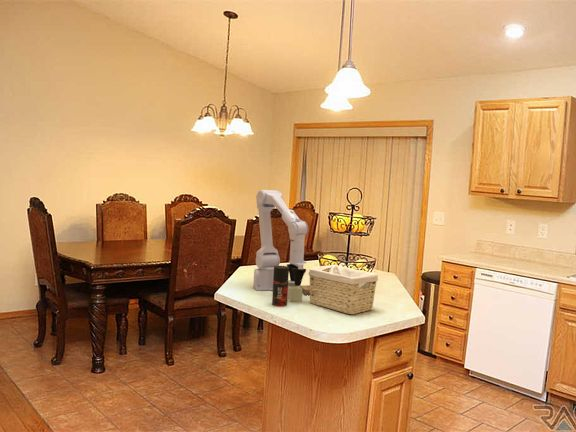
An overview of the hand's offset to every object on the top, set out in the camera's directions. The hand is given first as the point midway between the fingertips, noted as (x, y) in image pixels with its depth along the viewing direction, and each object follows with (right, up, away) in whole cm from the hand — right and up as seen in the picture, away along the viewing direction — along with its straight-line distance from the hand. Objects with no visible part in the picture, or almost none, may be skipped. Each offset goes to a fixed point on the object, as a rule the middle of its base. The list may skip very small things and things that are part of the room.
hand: (295, 283), depth 201 cm
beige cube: (0, -7, +1) cm, 7 cm away
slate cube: (-1, -6, +12) cm, 14 cm away
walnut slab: (+7, -7, +13) cm, 16 cm away
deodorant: (-6, -7, -9) cm, 13 cm away
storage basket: (+18, -9, -7) cm, 21 cm away
